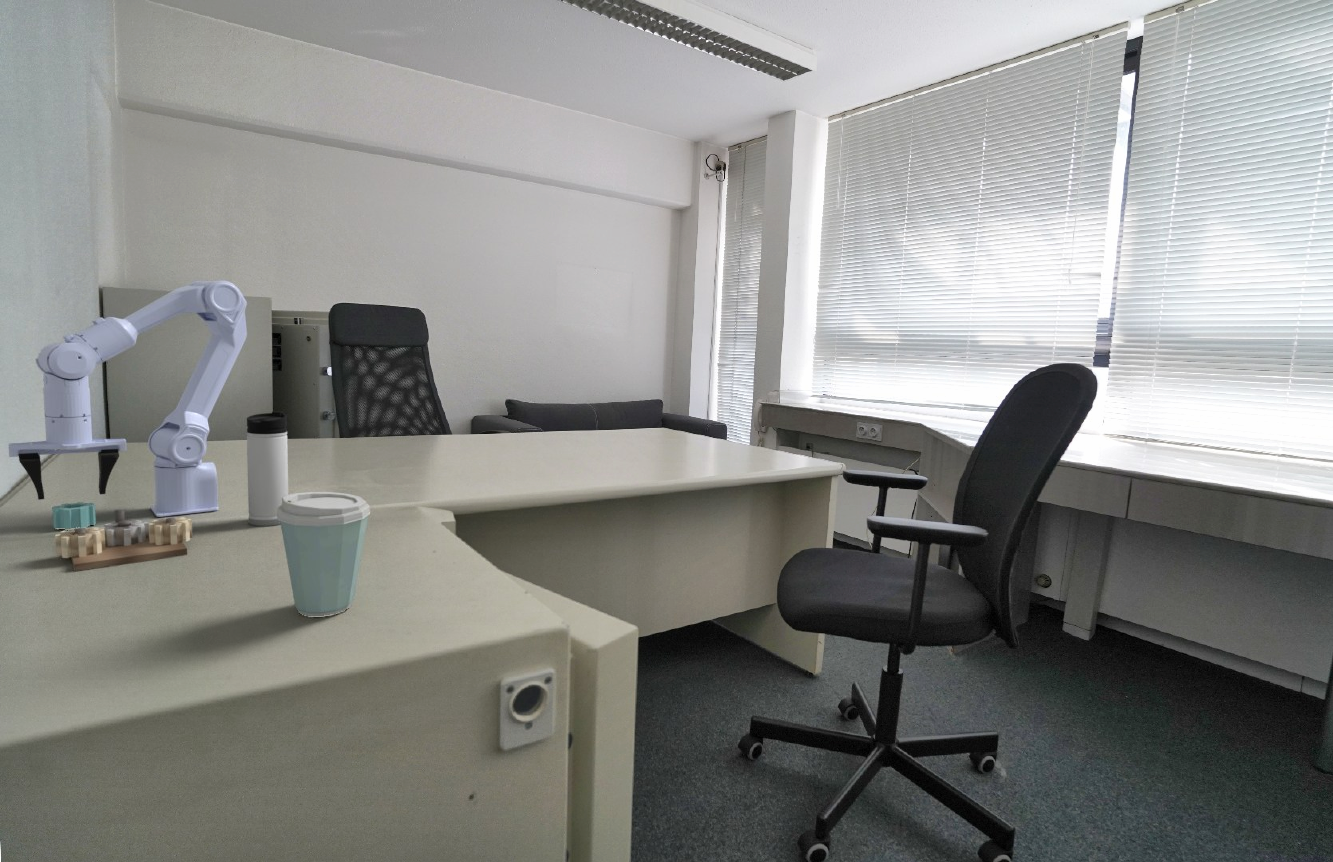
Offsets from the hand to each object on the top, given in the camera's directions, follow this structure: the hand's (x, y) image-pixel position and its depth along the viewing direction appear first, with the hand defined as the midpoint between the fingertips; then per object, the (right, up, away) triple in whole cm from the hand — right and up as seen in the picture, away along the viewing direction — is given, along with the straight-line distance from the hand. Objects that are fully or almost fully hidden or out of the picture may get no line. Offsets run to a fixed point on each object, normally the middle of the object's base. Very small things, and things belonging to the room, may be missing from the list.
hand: (72, 495), depth 111 cm
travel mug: (+27, -6, +10) cm, 30 cm away
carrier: (+15, -7, -8) cm, 19 cm away
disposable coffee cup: (+56, -12, -26) cm, 63 cm away
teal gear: (0, -5, +1) cm, 5 cm away
